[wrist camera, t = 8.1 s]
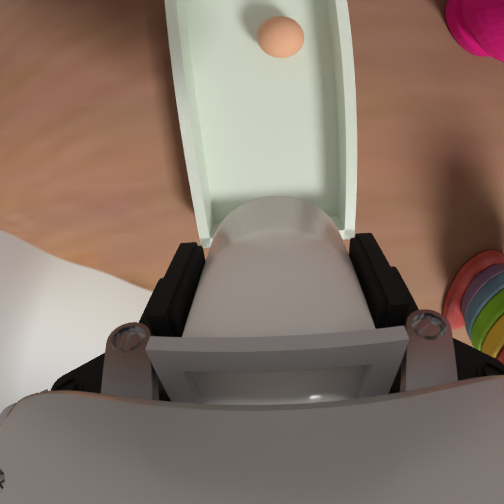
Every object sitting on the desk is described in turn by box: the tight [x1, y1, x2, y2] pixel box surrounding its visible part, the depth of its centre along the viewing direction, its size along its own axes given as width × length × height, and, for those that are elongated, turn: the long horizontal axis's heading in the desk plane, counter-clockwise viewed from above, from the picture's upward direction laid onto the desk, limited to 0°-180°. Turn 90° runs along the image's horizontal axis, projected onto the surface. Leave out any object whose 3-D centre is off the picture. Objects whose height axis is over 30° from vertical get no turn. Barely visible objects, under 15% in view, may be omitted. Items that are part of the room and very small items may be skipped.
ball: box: [257, 16, 304, 58], centre depth 17 cm, size 3×3×3 cm
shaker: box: [145, 196, 409, 405], centre depth 9 cm, size 5×5×7 cm
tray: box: [165, 0, 357, 248], centre depth 20 cm, size 12×22×4 cm, turn 6°
